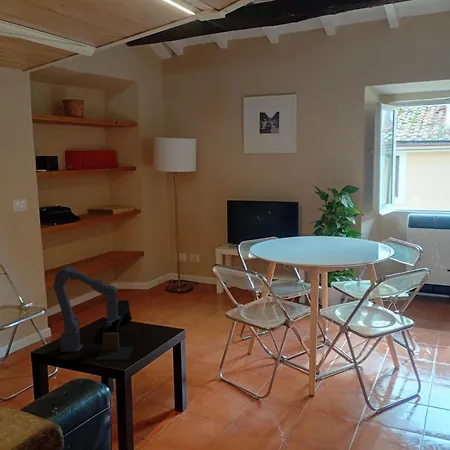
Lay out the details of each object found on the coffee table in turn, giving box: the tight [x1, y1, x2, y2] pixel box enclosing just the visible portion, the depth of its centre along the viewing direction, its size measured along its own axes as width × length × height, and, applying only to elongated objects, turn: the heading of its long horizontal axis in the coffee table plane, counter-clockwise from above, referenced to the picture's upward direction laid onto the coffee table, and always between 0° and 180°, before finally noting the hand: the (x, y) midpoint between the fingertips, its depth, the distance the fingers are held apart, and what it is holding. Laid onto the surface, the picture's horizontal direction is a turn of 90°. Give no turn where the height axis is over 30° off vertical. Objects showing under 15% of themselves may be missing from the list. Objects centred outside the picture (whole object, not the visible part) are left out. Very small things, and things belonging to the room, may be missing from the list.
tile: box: [102, 332, 120, 351], centre depth 249 cm, size 8×2×9 cm, turn 88°
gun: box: [102, 299, 133, 334], centre depth 279 cm, size 7×29×15 cm, turn 172°
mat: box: [95, 346, 135, 362], centre depth 245 cm, size 16×15×1 cm
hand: (113, 334), depth 254 cm, fingers closed
